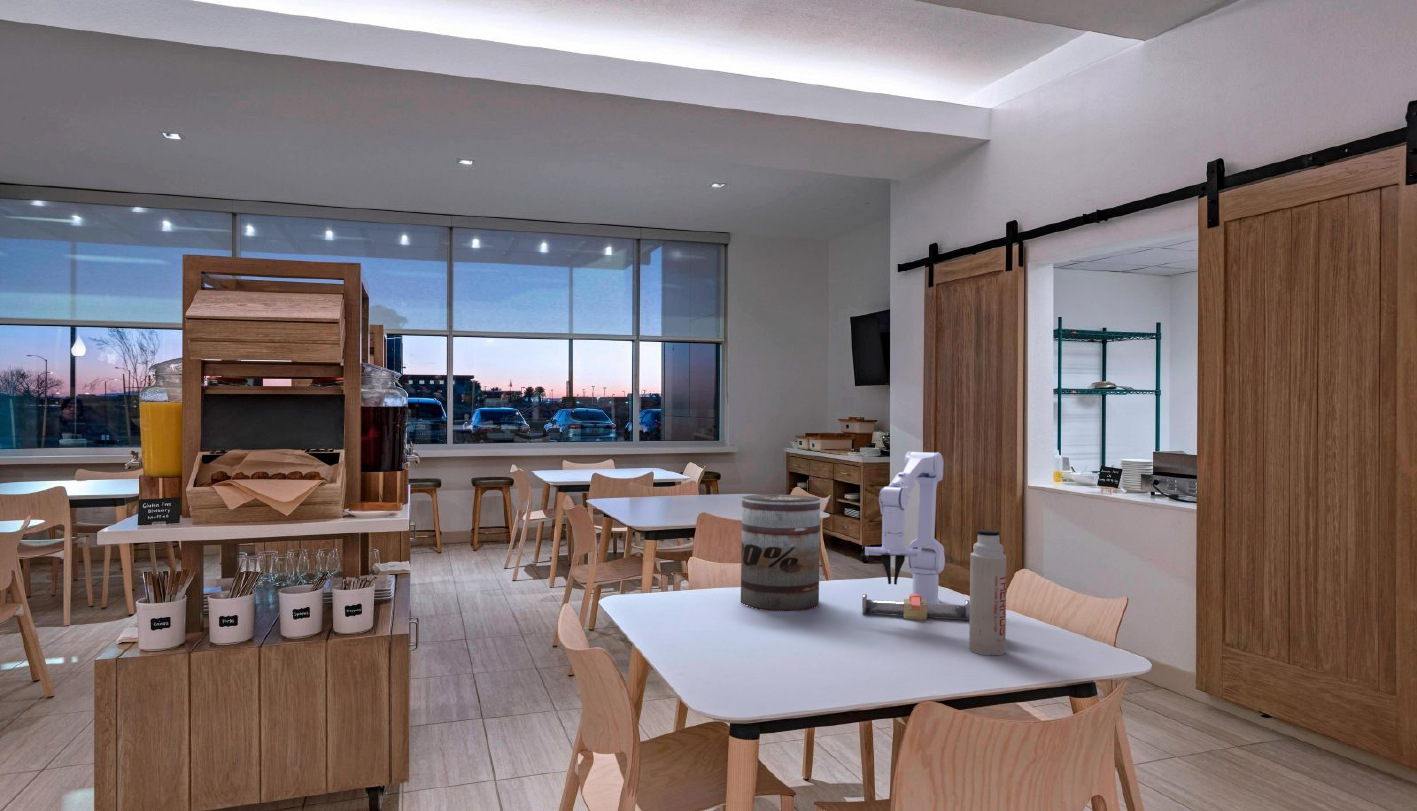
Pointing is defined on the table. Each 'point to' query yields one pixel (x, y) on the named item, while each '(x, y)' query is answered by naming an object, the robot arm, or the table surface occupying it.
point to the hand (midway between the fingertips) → (892, 583)
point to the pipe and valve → (921, 614)
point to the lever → (915, 601)
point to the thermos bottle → (987, 595)
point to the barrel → (780, 552)
